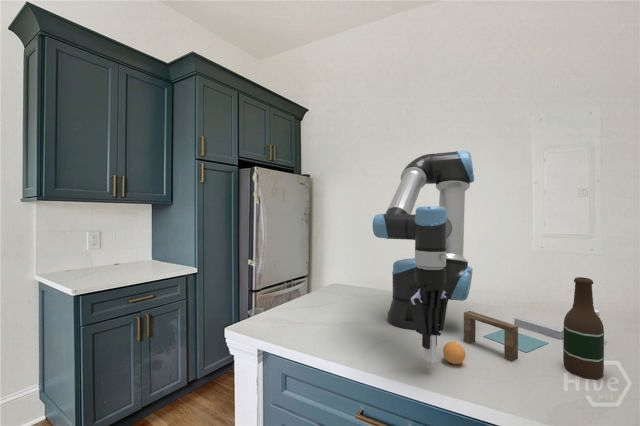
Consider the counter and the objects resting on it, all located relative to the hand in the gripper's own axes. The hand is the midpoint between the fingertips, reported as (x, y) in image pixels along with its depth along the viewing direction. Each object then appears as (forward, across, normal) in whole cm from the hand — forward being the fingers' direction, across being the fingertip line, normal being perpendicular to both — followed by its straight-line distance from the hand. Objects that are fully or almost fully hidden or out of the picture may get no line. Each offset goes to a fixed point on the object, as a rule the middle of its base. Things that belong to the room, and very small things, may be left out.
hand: (429, 360), depth 76 cm
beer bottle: (+3, +35, -19) cm, 40 cm away
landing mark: (+3, +40, 0) cm, 40 cm away
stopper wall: (+3, +54, 0) cm, 54 cm away
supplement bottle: (+3, +61, -12) cm, 62 cm away
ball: (0, +10, 0) cm, 10 cm away
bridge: (+3, +26, 0) cm, 26 cm away
